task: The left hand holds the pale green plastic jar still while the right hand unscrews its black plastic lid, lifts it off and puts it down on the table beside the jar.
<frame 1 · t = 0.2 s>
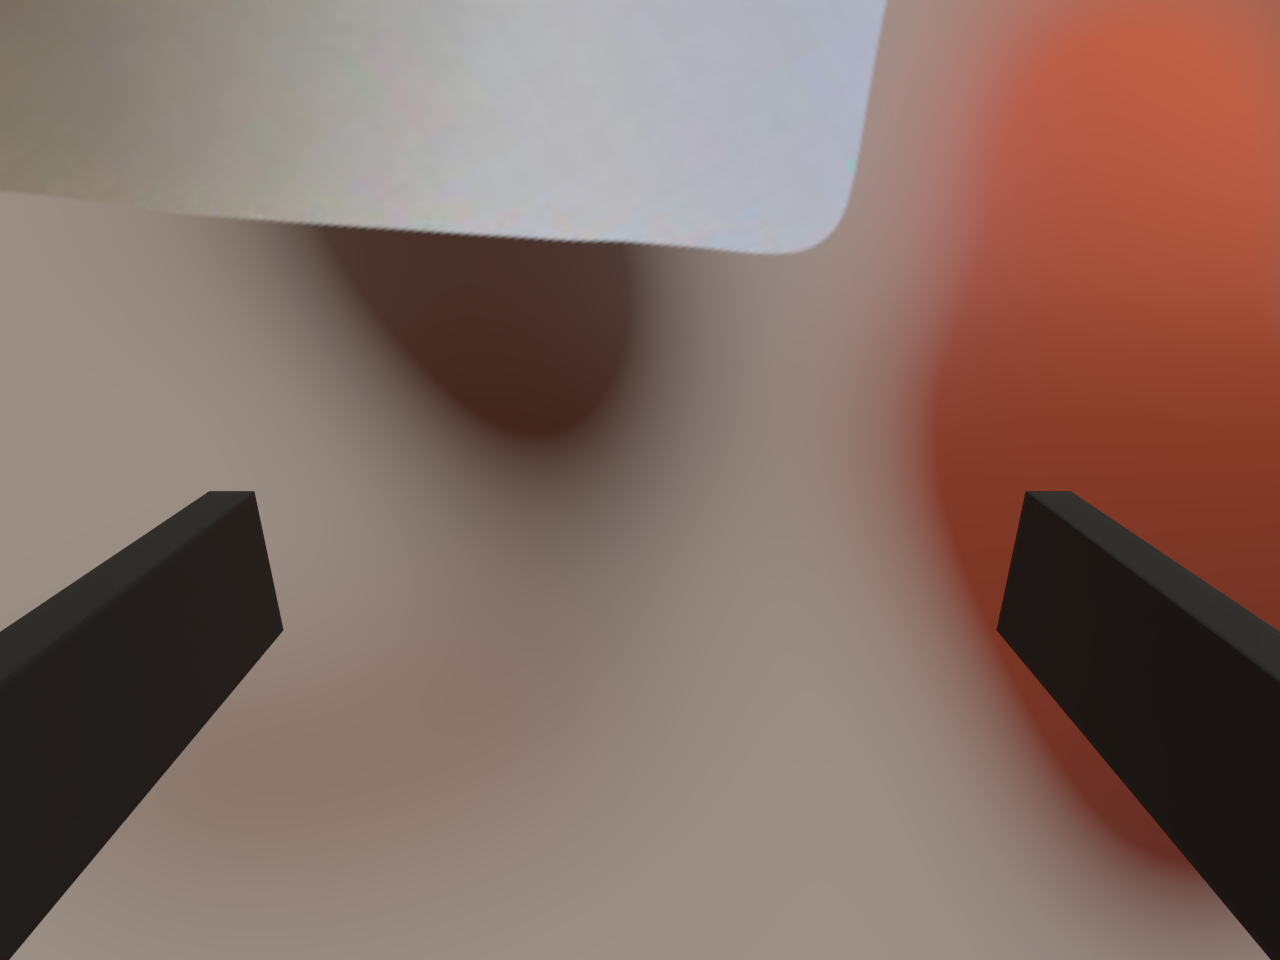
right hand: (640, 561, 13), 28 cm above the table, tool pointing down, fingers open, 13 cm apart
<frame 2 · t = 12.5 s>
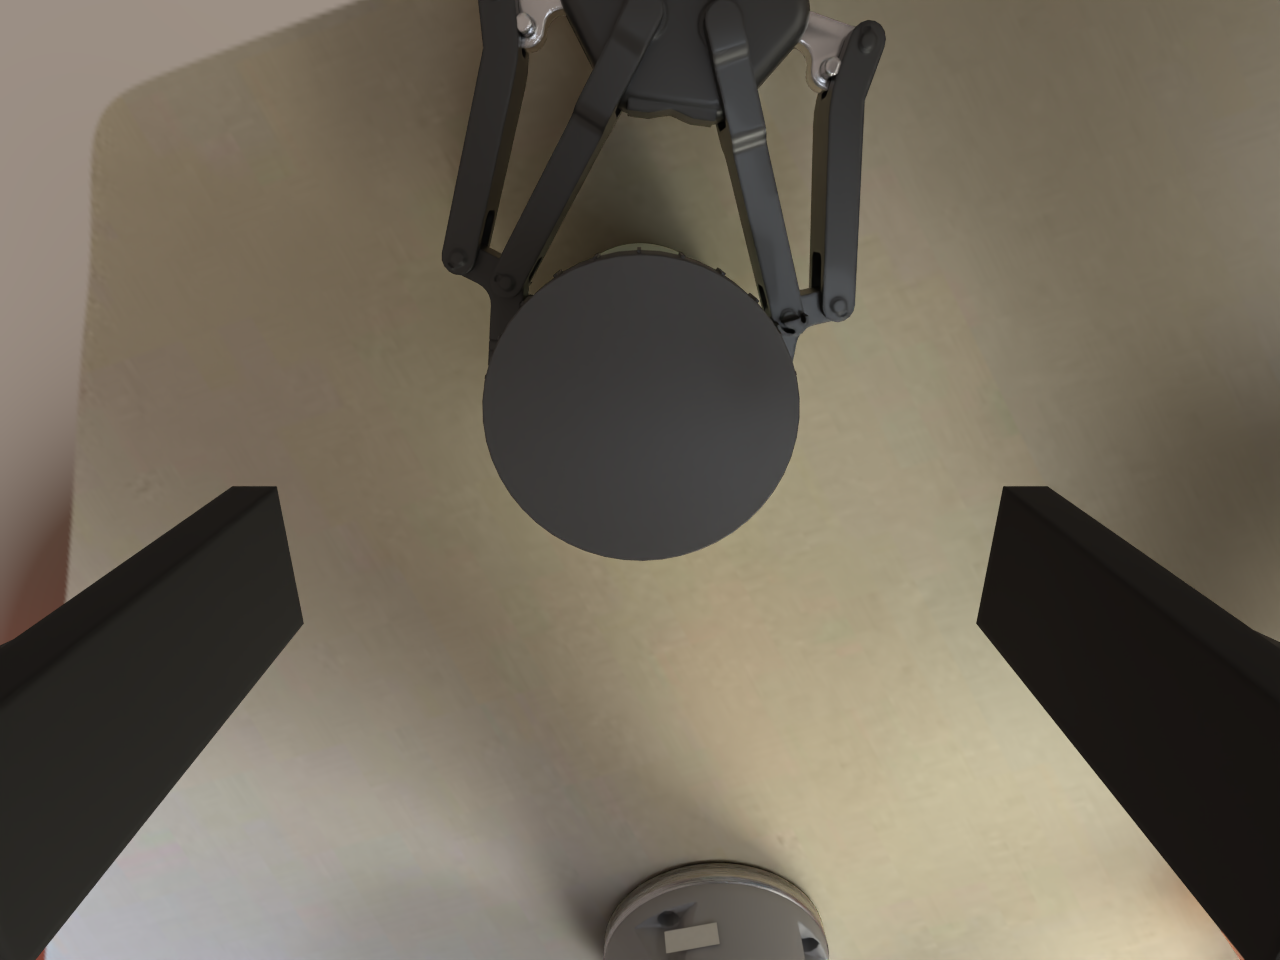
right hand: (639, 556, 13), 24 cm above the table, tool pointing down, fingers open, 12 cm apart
left hand: (627, 466, 31), fingers closed on jar, 8 cm apart
lid: (641, 416, 21), point 15 cm above the table, screwed on, not yet turned
jar: (640, 330, 35), on the table, touching left hand
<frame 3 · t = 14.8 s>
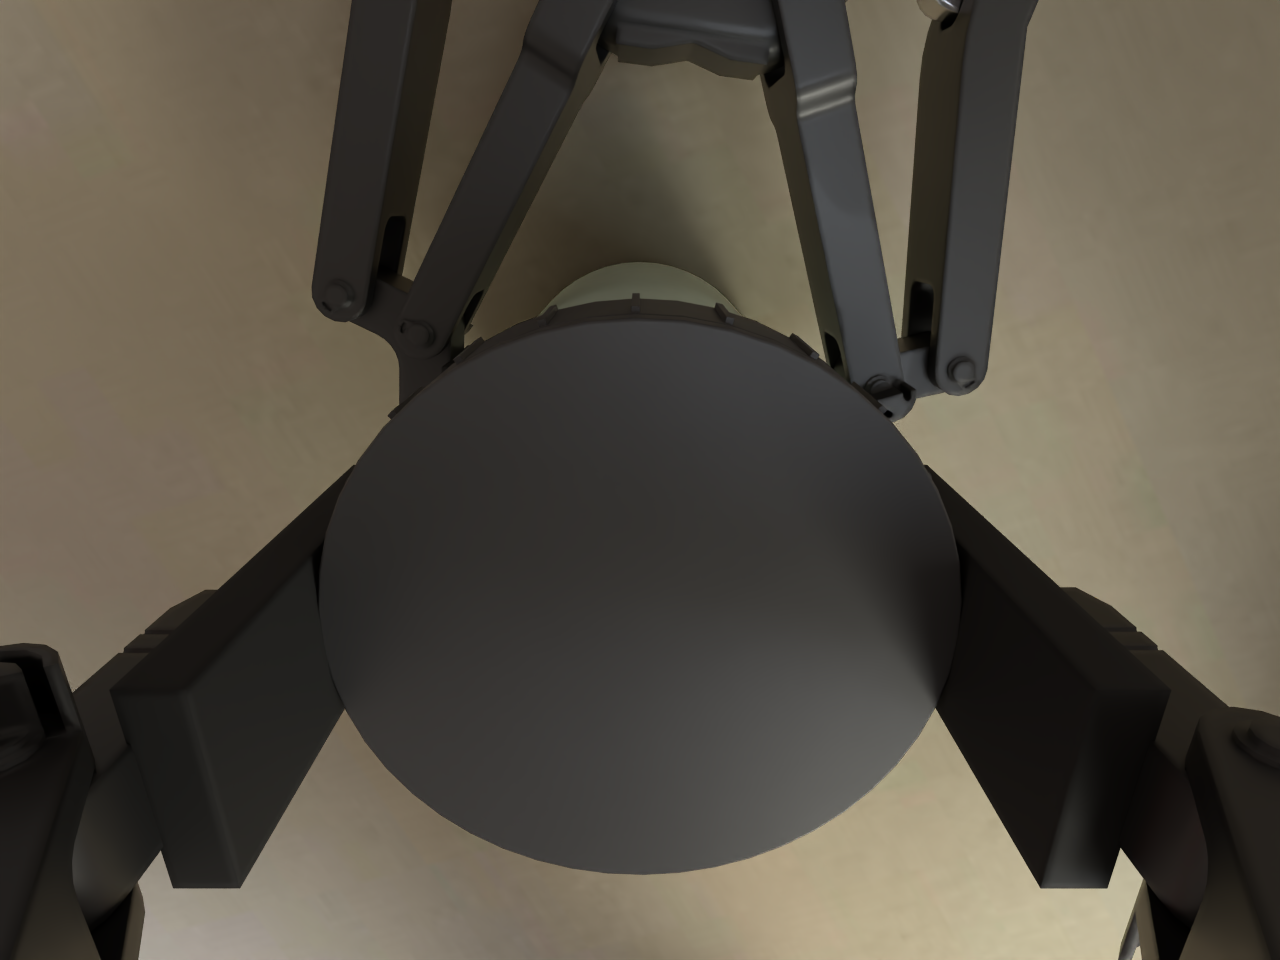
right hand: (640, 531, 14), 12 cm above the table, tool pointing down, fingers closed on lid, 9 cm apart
lid: (639, 628, 11), point 15 cm above the table, screwed on, not yet turned, touching right hand
jar: (640, 385, 25), on the table, touching left hand
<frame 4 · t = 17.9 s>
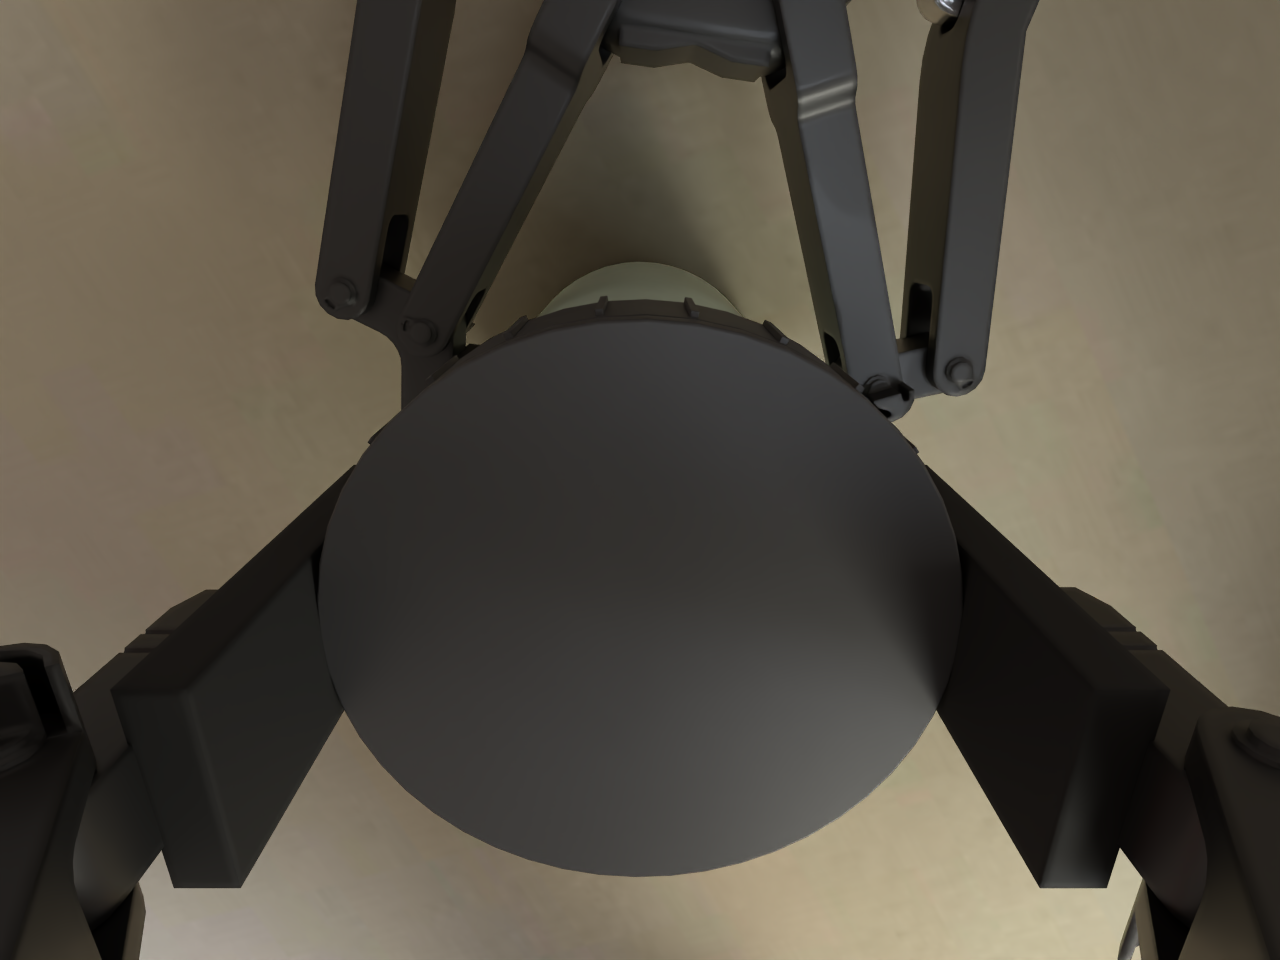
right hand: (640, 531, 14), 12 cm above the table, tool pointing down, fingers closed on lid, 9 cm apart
lid: (640, 629, 11), point 15 cm above the table, turned 96° so far, risen 0.2 cm, still on its thread, touching right hand
jar: (640, 384, 25), on the table, touching left hand
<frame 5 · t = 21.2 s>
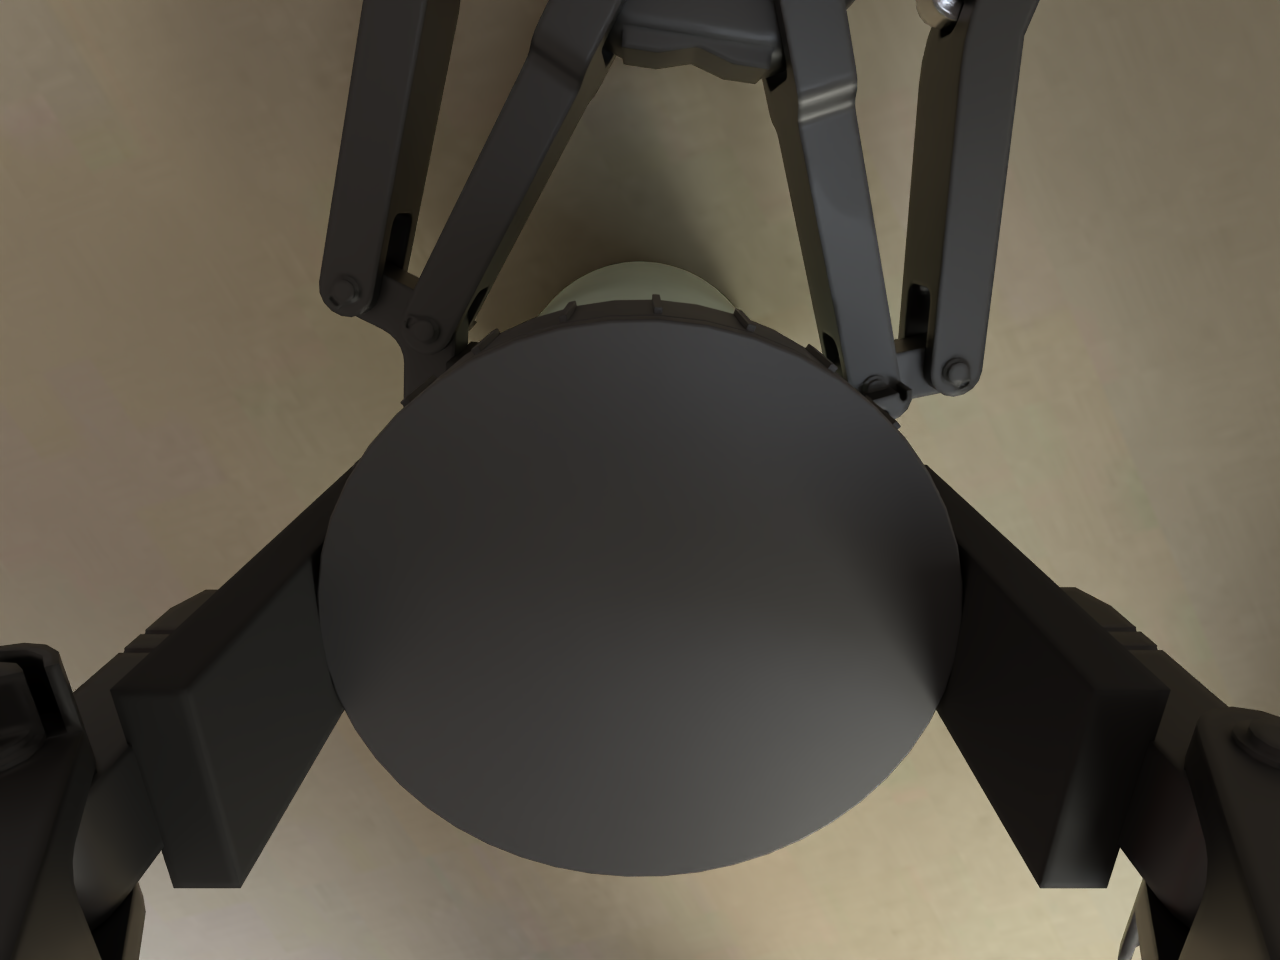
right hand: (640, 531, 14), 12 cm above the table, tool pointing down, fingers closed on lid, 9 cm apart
lid: (640, 629, 11), point 15 cm above the table, turned 192° so far, risen 0.3 cm, still on its thread, touching right hand
jar: (640, 383, 25), on the table, touching left hand
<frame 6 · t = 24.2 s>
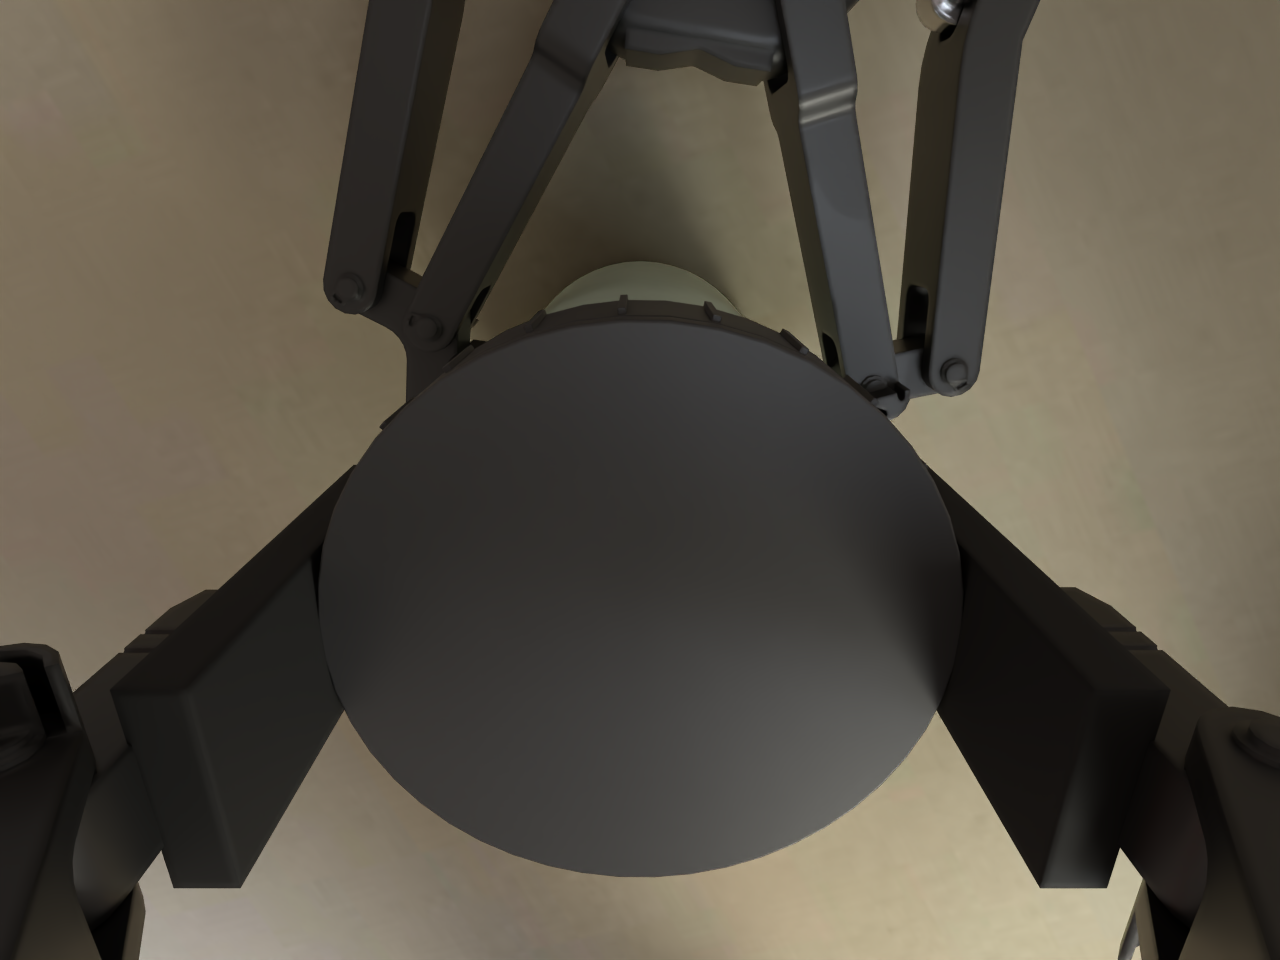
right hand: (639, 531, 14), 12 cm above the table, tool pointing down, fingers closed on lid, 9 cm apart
lid: (640, 630, 11), point 15 cm above the table, turned 288° so far, risen 0.5 cm, still on its thread, touching right hand
jar: (640, 382, 25), on the table, touching left hand
when the right hand's fingers open (0 cm above the table, at t = 30.8 s): lid drops 2 cm, point 2 cm above the table.
when the left hand's fingers open (6 cm above the table, at t = 32.7 s): jar stays where it is, on the table.
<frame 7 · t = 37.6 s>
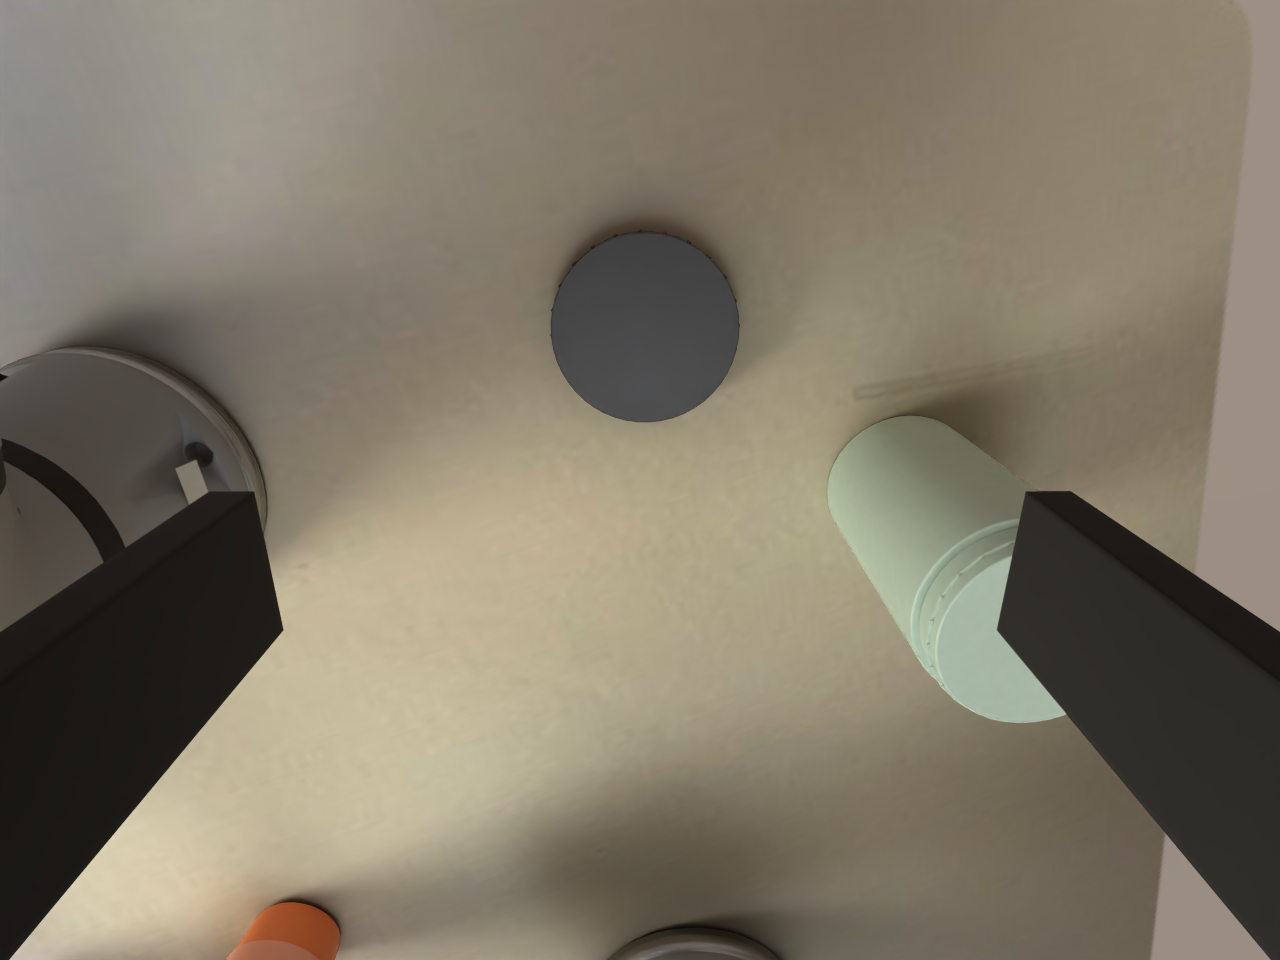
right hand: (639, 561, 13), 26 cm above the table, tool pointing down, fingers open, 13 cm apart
cup with straw: (299, 928, 52), on the table
lid: (644, 330, 35), point 2 cm above the table, off its thread
jar: (900, 485, 40), on the table
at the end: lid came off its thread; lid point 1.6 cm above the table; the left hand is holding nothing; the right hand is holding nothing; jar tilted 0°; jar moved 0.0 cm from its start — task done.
